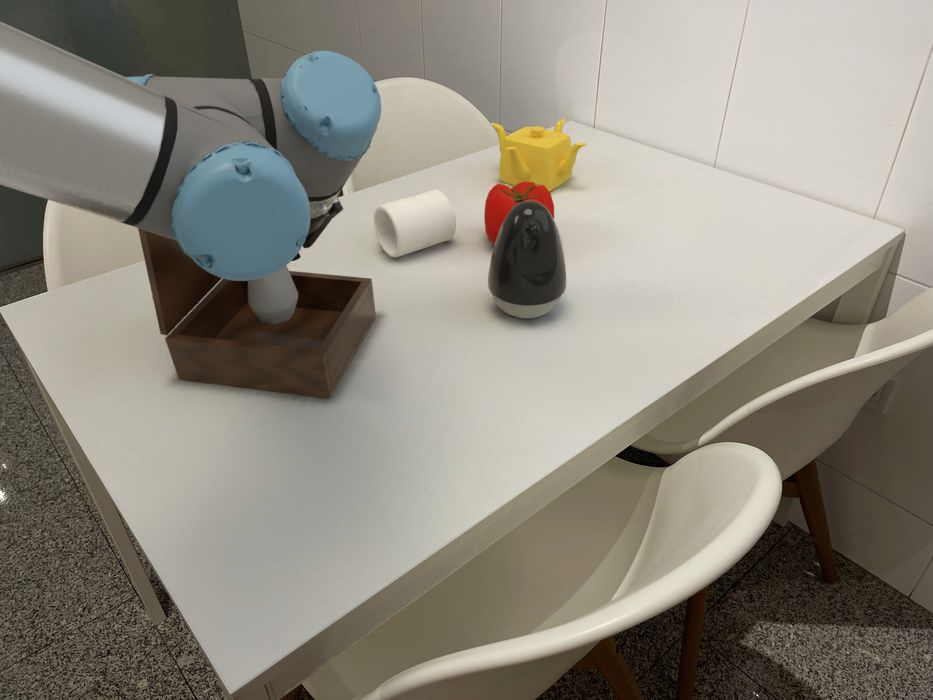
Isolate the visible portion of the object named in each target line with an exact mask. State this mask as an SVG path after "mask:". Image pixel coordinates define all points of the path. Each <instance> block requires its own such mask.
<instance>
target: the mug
mask: <svg viewBox="0 0 933 700" xmlns="http://www.w3.org/2000/svg"><path fill="white" fill-rule="evenodd" d="M373 226H374V230H375V234H376V237H377V240H378V242H379V244H380V246H381V248H382V250H383V251H384V252H385V253H386V254H387V255H388V256H389V257H391V258H394V259H395V258H399V257H402V256H405V255H408V254H411V253H414V252H417V251H420V250H423V249H426V248H429V247H432V246H435V245H438V244H442V243H444V242H447V241H450V240H452V239H453V237H454V236H455V233H456V229H457V220H456V215H455V211H454V208H453V206H452V203H451V201H450V200H449V198H448V197H447V195H446V194H445V193H444V192H443V191H441V190H440V189H432V190H428V191H425V192H422V193H418V194H414V195H411V196H407V197H404V198H401V199H397V200H392V201H390V202H386V203H383V204H380V205H378V206H376V208H375V210H374V212H373Z"/></svg>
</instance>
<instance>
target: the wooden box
mask: <svg viewBox="0 0 933 700" xmlns="http://www.w3.org/2000/svg"><path fill="white" fill-rule="evenodd" d="M289 273H290V275H291V277H292V280H293V282H294V285H295V287H296V290H297V292H298V300H297V304H296V308H295V311H294V313H293V315H292V316H291V318H290V319H289V320H287V321H284V322H280V323H277V324H271V323H267V322H262V321H261V320H260V319H259V318H258V317H257V315H256V314H255V313H254V312H253V310H252V309H251V307H250V305H249V302H248V288H245V289H244V288H243V286H242V284H241V282H240V281H233V280H227V279H223V278H222V279H221V280H220V281H219V282H218V283H217V284H216V285H215V286H214V287H213V288H212V290H211V291H210V292H209V293H208V294H207V295H206V296H205V297H204V298H203V299H202V300H201V301H200V302H199V303H198V304H197V305H196V306H195V307H194V308H193V309H192V310H191V311H190V312H189V313H188V314H187V315H186V316H185V317H184V319H183V320H182V321H181V322H180V323H179V324H178V325H177V326H176V327H175V328H174V329H173V330H172V331H171V332H170V333H169V334H168V335H167V336H165V338H164V340H165V343H166V345H167V349H168V352H169V355H170V358H171V360H172V363H173V366H174V369H175V372H176V375H177V378H178V380H179V381H187V382H195V383H203V384H210V385H218V386H226V387H232V388H233V387H235V388H240V389H241V388H242V389H250V390H258V391H266V392H273V393H281V394H288V395H296V396H304V397H305V396H306V397H313V398H319V399H320V398H321V399H327V400H329V399H331V397H332V396H333V394H334V392H335V391H336V389H337V387H338V385H339V383H340V382H341V380H342V378H343V377H344V375H345V373H346V372H347V370H348V368H349V366H350V365H351V363H352V361H353V358H354V357H355V355H356V354H357V352H358V350H359V348H360V347H361V345H362V343H363V341H364V339H365V338H366V336H367V335H368V333H369V332H370V329H371V327H372V325H373V324H374V322H375V320H376V318H377V313H376V305H375V297H374V289H373V280H372V278H369V277H359V276H349V275H338V274H326V273H319V272H318V273H317V272H316V273H315V272H306V271H296V270H295V271H294V270H289Z"/></svg>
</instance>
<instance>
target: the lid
mask: <svg viewBox="0 0 933 700" xmlns="http://www.w3.org/2000/svg"><path fill="white" fill-rule="evenodd" d="M137 230H138V235H139V240H140V244H141V248H142V254H143V258H144V262H145V267H146V272H147V277H148V281H149V287H150V291H151V292H150V293H151V296H152V300H153V305H154V310H155V314H156V319H157V324H158V329H159V333H160V335H161V336H165V337H167V336H168V335H169V334H170V333H171V332H172V331H173V330H174V329H175V328H176V327H177V326H178V325H179V324H180V323H181V322H182V320H183V319H184V318H185V317H186V316H187V315H188V314H189V313H190V312H191V311H192V310H193V309H194V308H195V307H196V306H197V305H198V304H199V303H200V302H201V301H202V300H203V299H204V298H205V297H206V296H207V295H208V293H209V292H210V291H211V290H212V289H213V288H214V287H215V286H216V285H217V284H218V283H219V282H220V281H221V280H222V279H223V278H220V277H217V276H215V275H213V274H210V273H209V272H207V271H206V270H204V269H203V268H202V267H200V266H199V265H198V264H196V263H195V262H194V261H193V259H192V258H191V257H189V256H188V255H187V254H185V253H184V252H183V251H182V249H181V248H180V246H179V244H178V241H176V240H173V239H169V238H166V237H163V236H160V235H157V234H154V233H151V232H148V231H145V230H142V229H139V228H137Z"/></svg>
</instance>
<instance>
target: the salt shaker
mask: <svg viewBox="0 0 933 700" xmlns="http://www.w3.org/2000/svg"><path fill="white" fill-rule="evenodd" d="M287 265H288V264H287ZM287 265H286V266H285V267H283V268H282V269H280V270H279V271H277V272H275V273H273V274H271V275H269V276H266V277H263V278H260V279H256V280H249V281H248V302H249V305H250V307H251V309H252V310H253V312H254V313H255V314H256V315H257V317H258V318H259V319H260V320H261V321H262V322H267V323H271V324H277V323H280V322H284V321H287V320H289V319H290V318H291V316H292V315H293V313H294V311H295V308H296V304H297V300H298V292H297V290H296V287H295V285H294V282H293V280H292V277H291V275H290V273H289V271H290V270H289V268H288V266H287Z"/></svg>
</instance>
